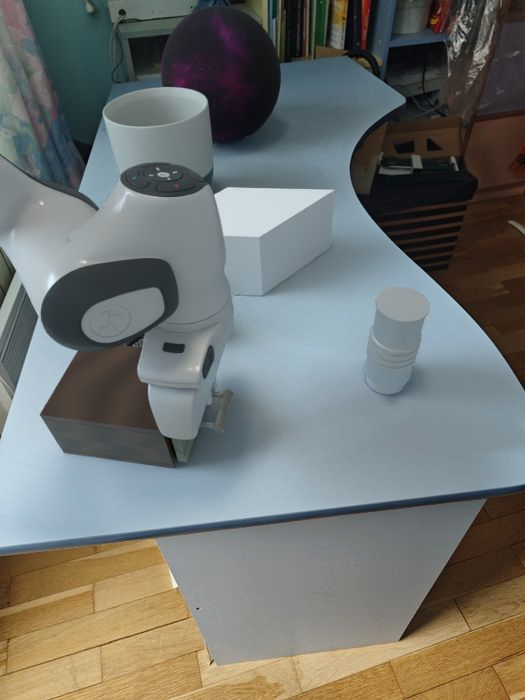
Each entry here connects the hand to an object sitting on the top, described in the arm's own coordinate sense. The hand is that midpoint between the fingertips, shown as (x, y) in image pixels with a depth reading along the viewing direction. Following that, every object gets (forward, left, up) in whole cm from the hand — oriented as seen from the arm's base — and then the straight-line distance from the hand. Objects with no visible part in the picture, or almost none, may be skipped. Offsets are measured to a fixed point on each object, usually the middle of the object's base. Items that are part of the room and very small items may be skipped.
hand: (207, 395), depth 62 cm
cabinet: (-12, 0, -8) cm, 14 cm away
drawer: (-7, 0, -7) cm, 10 cm away
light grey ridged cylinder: (+23, +13, -8) cm, 28 cm away
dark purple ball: (-20, +94, -8) cm, 96 cm away
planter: (-24, +58, -8) cm, 63 cm away
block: (-3, +37, -8) cm, 38 cm away
